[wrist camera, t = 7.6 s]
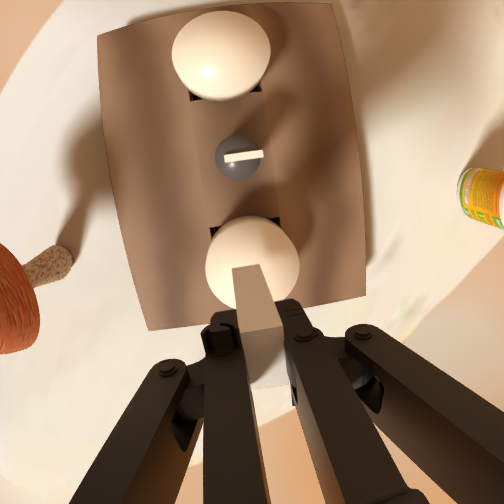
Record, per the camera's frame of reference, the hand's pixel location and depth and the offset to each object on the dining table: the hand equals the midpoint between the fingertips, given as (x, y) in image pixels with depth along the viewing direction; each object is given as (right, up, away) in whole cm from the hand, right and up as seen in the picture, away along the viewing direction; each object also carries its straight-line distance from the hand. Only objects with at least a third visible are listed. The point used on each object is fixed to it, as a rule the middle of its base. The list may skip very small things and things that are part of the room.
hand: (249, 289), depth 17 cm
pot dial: (-1, +8, +4) cm, 9 cm away
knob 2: (0, +3, +8) cm, 9 cm away
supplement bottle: (+23, +8, +9) cm, 26 cm away
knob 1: (-2, +16, +4) cm, 16 cm away
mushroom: (-17, +2, +8) cm, 19 cm away
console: (-1, +9, +7) cm, 11 cm away
